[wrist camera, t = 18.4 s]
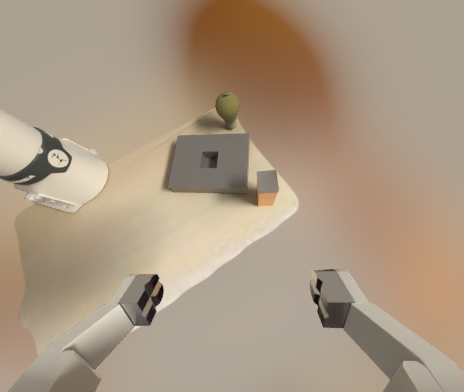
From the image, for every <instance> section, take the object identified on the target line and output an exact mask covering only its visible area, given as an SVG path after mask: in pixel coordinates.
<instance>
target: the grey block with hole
mask: <svg viewBox="0 0 464 392" xmlns="http://www.w3.org/2000/svg"><path fill="white" fill-rule="evenodd" d="M248 167H249V133H247V134H215V135H183V136H178V138H177V143H176V148H175V153H174V158H173V163H172V168H171V173H170V178H169V183H168V187H169V188H170V189H171V190H173V191H174V192H194V193H243V194H247V191H248Z"/></svg>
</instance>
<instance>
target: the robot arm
mask: <svg viewBox="0 0 464 392" xmlns="http://www.w3.org/2000/svg"><path fill="white" fill-rule="evenodd" d="M107 177H108V168H107V165H106V163H105V162H104V161H103V160H102V159H101V158H100V157H99V153H98V151H97V150H95V149H88V150H87V149H85V148H83V147H81V146H79V145H78V144H75V143H74V142H72V141H70V140H68V139H65V138H63V139H57V138H55V137H54V136H52V135H51V134H49V133H47V132H45V131H43V130H41V129H39V128H36V127H31V126H30V125H28V124H26V123H24V122H23V121H21V120H19V119H17V118H15V117H13V116H12V115H10V114H8V113H7V112H5V111H3V110H1V109H0V178H1V179H2V180H4V181H7V182H10V183H14V186H15V188H16V189H18V190H22V191H26V192H28V194H27V195H26V196H25V199H28V200H30V201H32V202H35V203H38V204H41V205H45V206H48V207H51V208H55V209H58V210H62V211H65V212H68V213H75V212H76V211H77V210H78V209H79V208H80V207H81V206H82V205H83V204H85V203H86V202H88V201H90V200H91V199H93V198H94V197H95V196H96V195H97V194H98V193H99V192H100V191H101V190H102V188H103V187H104V185H105V183H106V180H107ZM311 276H312V280H311V281H310V290H311V295H312V298H313V301H314V303H315V304H317V305H318V310H317V312H318V315H319V318H320V320H321V323H322V326H323V327H324V328H344V331H346V333H347V334H348V335H349V336H350V337H351V338H352V339H353V340H354V341H355V342H356V344H357V345H358V346H359V347H360V348H361V349H362V350H363V351H364V352H365V353H366V354H367V355H368V356H369V357H370V358H371V360H372V361H373V362H374V363H375V364H376V365H377V366H378V367H379V368H380V369H381V370H382V371H383V372H384V374H385V375H386V376H387V377H388V378H389V379H390V382H389V383H388V384H387V386H386V387H385V389H384V391H383V392H464V373H463V372H462V371H461V370H460V369H459V367H458V366H457V365H456V364H455V363H454V362H453V361H452V360H451V359H449V358H448V357H447V356H445V355H444V354H442V353H441V352H440V351H438V350H437V349H436V348H434V347H433V346H432V345H430V344H429V343H427V342H426V341H425V340H423V339H422V338H420V337H419V336H417V335H416V334H415V333H413V332H412V331H411V330H409V329H408V328H407V327H405V326H404V325H402V324H401V323H400V322H398V321H397V320H395V319H394V318H393V317H391V316H390V315H388V314H387V313H386V312H384V311H383V310H382V309H380V308H379V307H377V306H376V305H375V304H373V303H369V302H368V301H367V299H366V298H365V296H364V295H363V293H362V292H361V290H360V289H359V287H358V286H357V284H356V283H355V281H354V280H353V278H352V277H351V275H350V273H349V272H348V271H347V270H346V269H323V270H312V272H311ZM159 279H160V278H159V277H158V275H157V274H130V275H129V276H127V277H126V279H125V280H124V281H123V283H122V284H121V286H120V287H119V288H118V290H117V291H116V292H115V294H114V295H113V297H112V298H111V299H110V301H109V302H108V304H104V305H103V306H101V307H100V308H99V309H97V310H96V311H94V312H93V313H92V314H90V315H89V316H88V317H86V318H85V319H84V320H82V321H81V322H80V323H78V324H77V325H76V326H74V327H73V328H71V329H70V330H69V331H67V332H66V333H65V334H63V335H62V336H61V337H59V338H58V339H57V340H55V341H54V342H52V343H51V344H50V345H48V346H47V347H46V348H44V350H43V351H42V352H41V353H40V354H39V355H38V357H37V358H36V359H35V360H34V361H33V363H32V364H31V365H30V366H29V367H28V368H27V370H26V371H25V372H24V373H23V374H22V375H21V377H20V378H19V379H18V380H17V381H16V383H15V384H14V385H13V386H12V387H11V388H10V390H9V391H8V392H95V391H96V389H97V387H98V385H99V383H100V381H101V375H99V374H98V373H97V372H96V371H95V369H96V368H97V367H98V366H99V365H100V363H101V362H102V361H103V360H104V359H105V358H106V357H107V356H108V355H109V354H110V353H111V352H112V351H113V350H114V348H115V347H116V346H117V345H118V344H119V343H120V342H121V341H122V340H123V339H124V337H126V336H127V334H128V333H129V332H130V331H131V330H132V329H133V328H134V326H149V325H151V322H152V320H153V317H154V316H155V314H156V306H157V305H158V304H159V303H160V302H161V300H162V298H163V292H164V289H163V285H162V284H161V283H160V282H159Z"/></svg>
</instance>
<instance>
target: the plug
mask: <svg viewBox="0 0 464 392" xmlns="http://www.w3.org/2000/svg"><path fill="white" fill-rule="evenodd" d="M278 190H279V188H278V180H277V173H276V170H269V171H259V172H257V199H258V206H270V205H273V203H274V200H275V198H276V195H277V193H278Z"/></svg>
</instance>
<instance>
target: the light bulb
mask: <svg viewBox="0 0 464 392" xmlns="http://www.w3.org/2000/svg"><path fill="white" fill-rule="evenodd" d="M239 108H240V105H239V100H238V98H237V96H236V95H235V94H234V93H232V92H223V93H221V94H220V95H219V96H218V98H217V100H216V111H217V113H218V114H219V116H220V117H221V118H223V119H224V121H225V122H226V124H227V127H228V128H229V129H233V128H235V126H236V122H235V120H236V116H237V114H238V112H239Z"/></svg>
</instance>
